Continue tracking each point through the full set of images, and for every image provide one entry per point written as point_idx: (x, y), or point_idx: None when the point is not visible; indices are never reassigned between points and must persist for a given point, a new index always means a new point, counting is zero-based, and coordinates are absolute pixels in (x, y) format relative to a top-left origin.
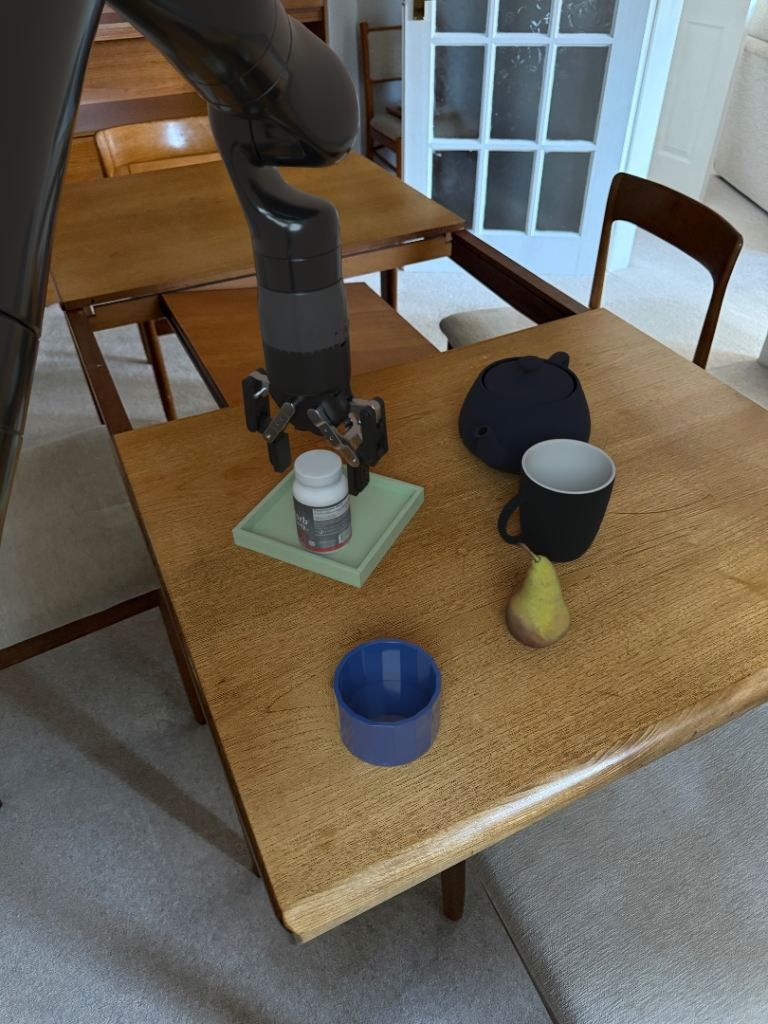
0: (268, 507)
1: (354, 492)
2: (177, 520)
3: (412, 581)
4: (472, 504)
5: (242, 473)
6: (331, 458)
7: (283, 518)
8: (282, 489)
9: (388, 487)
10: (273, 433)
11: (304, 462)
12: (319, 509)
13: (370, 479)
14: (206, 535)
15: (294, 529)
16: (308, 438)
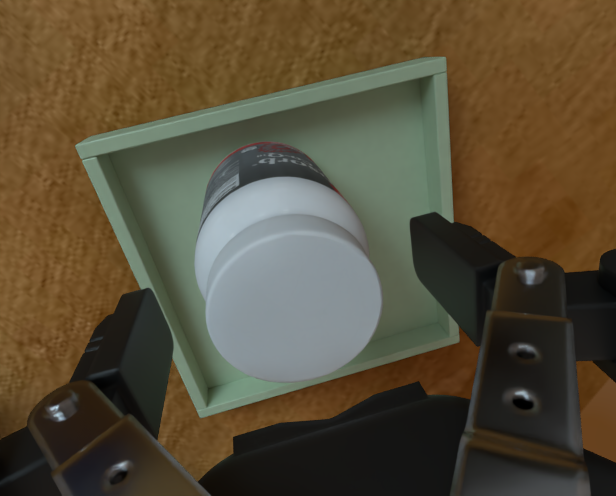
0: (431, 185)
1: (119, 300)
2: (587, 30)
3: (28, 228)
4: None
5: (546, 231)
6: (278, 358)
7: (384, 185)
8: None
9: None
10: (516, 298)
11: (339, 285)
12: (221, 197)
13: None
14: (499, 36)
15: (341, 176)
16: None
